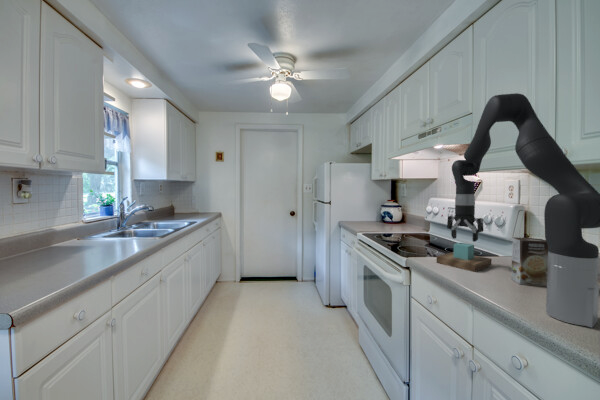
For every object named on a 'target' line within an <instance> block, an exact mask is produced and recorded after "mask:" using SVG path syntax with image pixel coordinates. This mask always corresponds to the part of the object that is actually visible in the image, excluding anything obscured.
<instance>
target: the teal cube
mask: <svg viewBox="0 0 600 400" xmlns="http://www.w3.org/2000/svg"><path fill="white" fill-rule="evenodd" d="M453 252H454V255H453V257H455V258H460V259H465V260H470V259H472V258H474V256H475V244H471V243H464V242H457V243H454V244H453Z"/></svg>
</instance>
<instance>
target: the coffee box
mask: <svg viewBox="0 0 600 400" xmlns="http://www.w3.org/2000/svg"><path fill="white" fill-rule="evenodd" d="M511 250H512V251H511V253H512V254H511V268H510V269H511V270H510V273H511V274H510V279H511V280H513V282H515V283H517V284H519V285H526V286H535V287H546V288H547V271H548V244H547V242H546V239H542V238H533V237H516V236H515V237H512V249H511Z"/></svg>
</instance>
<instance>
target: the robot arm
mask: <svg viewBox="0 0 600 400" xmlns="http://www.w3.org/2000/svg"><path fill="white" fill-rule="evenodd" d="M502 122H503V123H504V122H511V123H513V125H514V126H515V127H516V129H517V130H518V136H517V138H516V142H515V146H514V149H515V153H516V155H517V157H518V158H519V160H520V161H521V163H522V165H523V166H524V167H525V169H527V170H528V171H529V172H530V173H531V174H533V175H534V176H536V177H538V178H539V179H540V180H542V181H544V182H546V183H547V184H549V185H550V186H551V187H552V188H554V190H555V191H556V192H557V193H558V194H555V195H552V196H551V197H550V198H548V200H547V202H546V203H545V206H544V211H543V213H544V214H543V215H544V219H543V220H544V238H545V239H544V240H546V242H547V244H548V271H547V287H546V298H545V299H546V303H545V312H546V314H547V315H549V316H550V317H552V318H553V319H556V320H559V321H561V322H565V323H568V324H572V325H576V326H583V327H588V328H592V329H593V328H594V326H596V324H597V323H598V321H599V319H598V318H599V317H598V316H599V300H600V299H599V295H600V286H599V285H598V278H599V277H598V275H599V274H598V273H599V254H600V253H599V252H600V249H599V247H598V246H597V245H596V244H595V243H591V242H589V241H586V239H585V238H583V231H582V230H583V229H598V228H600V192H598V190H597V189H595V187H594V186H593V185H591V183H589V182H588V180H586V178H584V176H583V175H582V174H581V173H580V172H579V171H578V169H577V168H576V167H575V166H574V164H573V162H572V161H571V160H570V159H569V158H568V157H567V155H566V154H565V153H564V151H563V150H562V148H561V147H560V146H559V144H558V142H557V141H556V140H555V139H554V138H553V136H552V135H551V134H550V133H549V132H548V130H547V128H546V127H545V126H544V125H543V123H542V122H541V120H540V119H539V118H538V115H537V113H536V112H535V110H534V108H533V106H532V104H531V101H529V99H528V98H527V96H525V95H524V94H523V93H516V92H515V93H505V94H503V93H502V94H495V95H493V96H492V97H491V98H490V99H488V101H487V102H486V104H485V106H484V108H483V111H482V114H481V116H480V119H479V122H478V124H477V127H476V129H475V133H474V136H473V138H472V140H471V142H469V145H468V146H467V148H466V150H465V151H464V154H463V158H464V159H457V160H455V161H454V162H453V163H452V165H451V172H452V175H453V178H454V183H455V200H454V203H455V205H454V216H453V215H448V216H447V224H446V229H449V230H450V231H451V238H452V240H453V239H454V240H455V239H457V229H458V228H459V227H465V228H469V229H470V230H471V231H472V242H477V241H478V239H479V233H482V232H484V219H483V218H482V217H479V218H476V217H475V214H476V213H475V211H476V197H475V182H474V181H471V180H467V179H466V178H465V177H466V176H468V177H469V176H471V177H472V176H475V175H477V174H478V173H479V171H480V169H481V165H482V161H483V159H484V157H485V156H486V154H487V153H488V151H489V149H490V148H491V144H492V139H491V134H490V130H491V129H492V127H493V126H494V125H495V124H496V123H502ZM454 221H455V223H454ZM475 223H477V225H476V224H475Z"/></svg>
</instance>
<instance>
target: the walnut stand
mask: <svg viewBox="0 0 600 400" xmlns="http://www.w3.org/2000/svg"><path fill="white" fill-rule="evenodd" d="M453 255H454V251H452V252H447V253H445V254H440V255H436V264H440V265H445V266H449V267H454V268H458V269H462V270H465V271H470V272H478V271H480V270H483V269H485V268H488V267H490V266H492V258H489V257H484V256H480V255H479V256H478V255H474V258H472V259H470V260H465V259H460V258H455V257H453Z"/></svg>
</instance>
